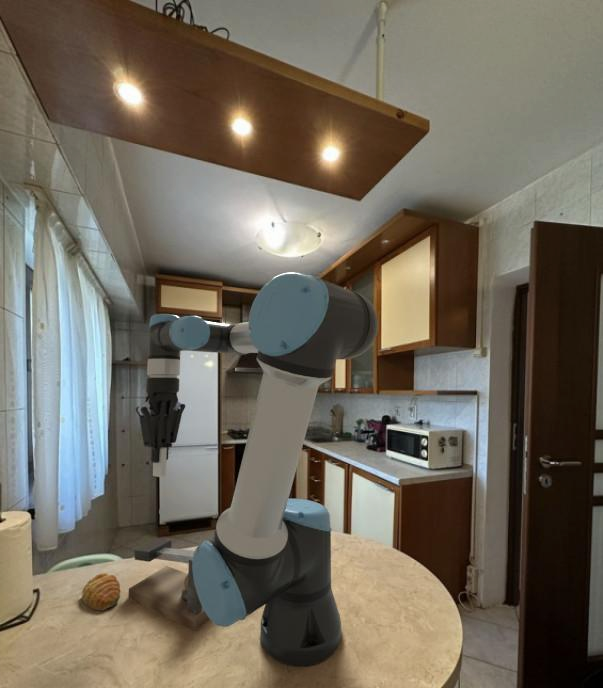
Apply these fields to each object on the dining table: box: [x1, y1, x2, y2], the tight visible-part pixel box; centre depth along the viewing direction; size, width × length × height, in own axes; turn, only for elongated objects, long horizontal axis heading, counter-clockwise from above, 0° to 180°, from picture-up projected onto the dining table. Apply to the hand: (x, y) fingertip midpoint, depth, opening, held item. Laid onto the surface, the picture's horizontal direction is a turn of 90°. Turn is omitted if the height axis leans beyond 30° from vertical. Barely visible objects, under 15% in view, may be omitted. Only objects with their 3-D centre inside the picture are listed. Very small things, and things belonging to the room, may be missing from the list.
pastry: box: [81, 572, 121, 612], centre depth 71 cm, size 9×7×4 cm
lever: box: [134, 538, 195, 564], centre depth 72 cm, size 21×6×3 cm, turn 63°
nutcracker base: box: [127, 557, 210, 631], centre depth 72 cm, size 20×10×12 cm, turn 62°
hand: (159, 475), depth 78 cm, fingers closed
